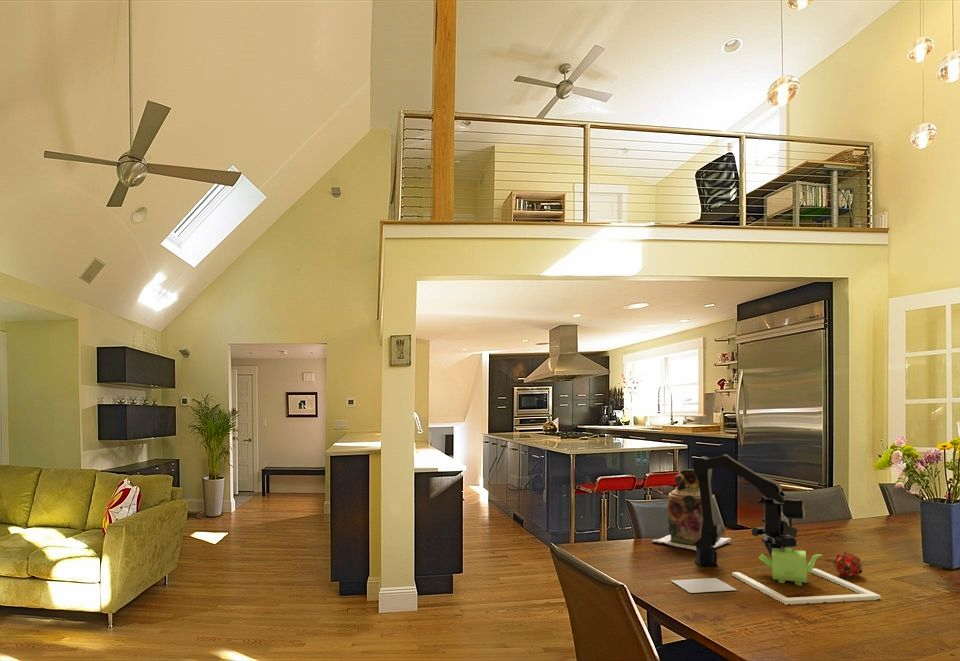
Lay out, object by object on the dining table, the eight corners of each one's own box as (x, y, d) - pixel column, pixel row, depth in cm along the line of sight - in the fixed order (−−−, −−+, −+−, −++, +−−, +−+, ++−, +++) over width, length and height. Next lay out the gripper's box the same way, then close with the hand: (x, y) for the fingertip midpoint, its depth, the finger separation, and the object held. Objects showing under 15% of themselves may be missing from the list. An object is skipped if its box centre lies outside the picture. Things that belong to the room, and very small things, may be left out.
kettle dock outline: (785, 604, 204) (785, 600, 204) (732, 575, 235) (732, 572, 235) (880, 599, 209) (880, 595, 209) (816, 571, 240) (816, 568, 240)
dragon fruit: (851, 576, 240) (850, 589, 229) (829, 559, 243) (827, 572, 233) (866, 559, 237) (866, 572, 227) (844, 543, 240) (842, 555, 230)
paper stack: (754, 601, 208) (754, 599, 208) (679, 606, 204) (679, 603, 204) (715, 579, 231) (715, 577, 231) (647, 583, 227) (647, 581, 227)
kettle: (824, 584, 224) (822, 550, 224) (792, 591, 218) (791, 556, 219) (788, 572, 238) (786, 540, 238) (757, 577, 232) (756, 545, 233)
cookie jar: (680, 534, 300) (678, 462, 303) (733, 543, 283) (730, 467, 285) (650, 543, 284) (648, 467, 286) (703, 553, 266) (701, 472, 268)
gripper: (810, 521, 231) (812, 567, 230) (777, 510, 249) (779, 553, 248) (780, 522, 229) (782, 569, 228) (750, 511, 247) (751, 554, 246)
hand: (774, 561), depth 238 cm, fingers closed
